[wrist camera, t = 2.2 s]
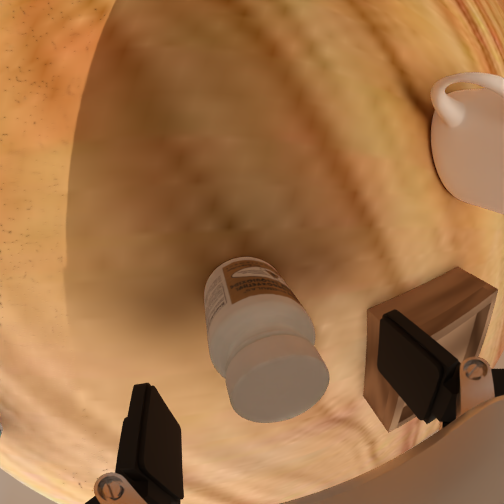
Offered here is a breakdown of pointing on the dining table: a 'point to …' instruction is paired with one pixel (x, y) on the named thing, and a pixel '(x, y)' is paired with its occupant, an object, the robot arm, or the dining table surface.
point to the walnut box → (430, 331)
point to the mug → (470, 139)
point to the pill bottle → (262, 342)
